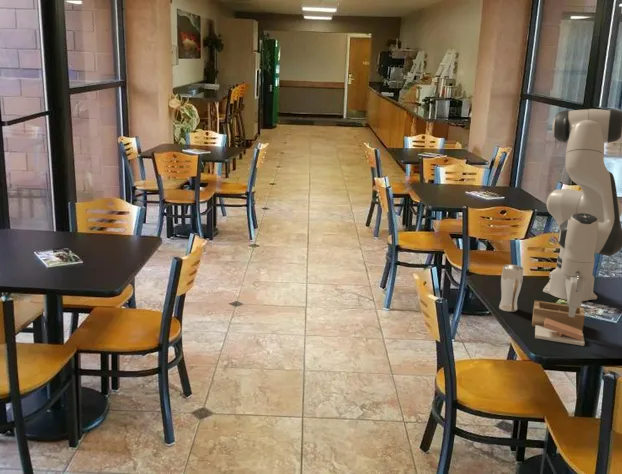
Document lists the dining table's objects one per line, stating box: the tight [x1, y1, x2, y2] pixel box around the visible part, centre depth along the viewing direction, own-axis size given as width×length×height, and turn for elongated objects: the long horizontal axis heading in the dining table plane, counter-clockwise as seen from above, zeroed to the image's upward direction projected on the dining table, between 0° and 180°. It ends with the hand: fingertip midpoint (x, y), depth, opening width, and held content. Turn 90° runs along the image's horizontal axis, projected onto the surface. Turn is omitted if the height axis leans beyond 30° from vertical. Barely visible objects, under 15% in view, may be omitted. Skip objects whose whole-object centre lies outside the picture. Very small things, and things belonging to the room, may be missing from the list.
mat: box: [534, 325, 585, 347], centre depth 202 cm, size 9×14×1 cm, turn 71°
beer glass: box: [498, 264, 524, 313], centre depth 223 cm, size 7×7×15 cm
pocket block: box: [531, 299, 586, 332], centre depth 211 cm, size 9×15×6 cm, turn 71°
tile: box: [544, 318, 583, 340], centre depth 201 cm, size 5×11×3 cm, turn 71°
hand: (570, 311), depth 199 cm, fingers open, 8 cm apart
